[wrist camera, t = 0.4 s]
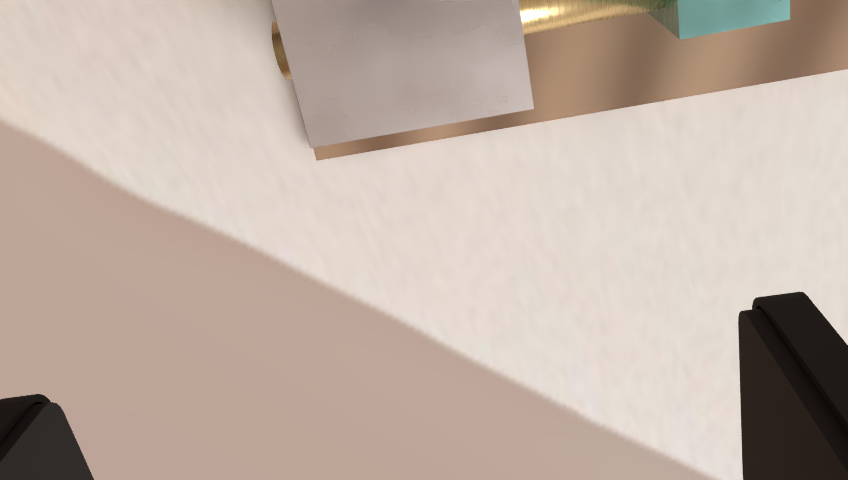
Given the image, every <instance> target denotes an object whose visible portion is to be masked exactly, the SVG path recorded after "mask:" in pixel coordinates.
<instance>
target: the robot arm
mask: <svg viewBox="0 0 848 480" xmlns="http://www.w3.org/2000/svg"><path fill="white" fill-rule="evenodd" d="M738 325H739V359H740V394H741V428H742V463H743V480H848V345H847V344H846V343H845V342H844V340H843V339H842V338H841V337H840V335H839V334H838V333H837V332H836V330H835V329H834V328H833V327H832V326H831V324H830V323H829V322H828V321H827V319H826V318H825V317H824V316H823V315H822V313H821V312H820V311H819V310H818V308H817V307H816V306H815V305H814V304H813V302H812V301H811V300H810V299H809V297H808V296H807V295H806V294H805V293H803V292H795V293H787V294H780V295H772V296H765V297H757V298H755V299H754V301H753V305H752V310H745V311H741V312H740V313H739V322H738ZM0 480H94V479H93V477H92V474H91V472H90V470H89V468H88V466H87V463H86V461H85V459H84V456H83V454H82V452H81V450H80V447H79V445H78V443H77V441H76V439H75V436H74V434H73V432H72V430H71V427H70V425H69V423H68V421H67V419H66V416H65V414H64V412H63V410H62V409H61V407H60V406H59V405H58V404H57V403H53V402H52V403H51V402H50V400H49V399H48V398H47V397H45V396H44V395H40V394H35V395H27V396H20V397H13V398H5V399H1V400H0Z"/></svg>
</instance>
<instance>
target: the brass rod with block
mask: <svg viewBox="0 0 848 480" xmlns="http://www.w3.org/2000/svg"><path fill="white" fill-rule="evenodd" d="M519 6H520V13H521V20H522V27H523V34H524V35H526V34H531V33H536V32H542V31H547V30H552V29H558V28H563V27H568V26H574V25H579V24H584V23H590V22H595V21H600V20H606V19H611V18H616V17H622V16H627V15H632V14H638V13H643V12H647V13H648V14H650V15H651V16H652V17H653V18H654V19H656V20H657V21H658V22H659V23H660V24H662V25H663V26H664V27H665V28H666V29H668V30H669V31H670V32H671V33H673V34H674V35H675V36H676V37H677V38H679V39H680V40H681V39H686V38H692V37H697V36H703V35H708V34H714V33H719V32H725V31H730V30H736V29H741V28H747V27H752V26H758V25H763V24H769V23H774V22H780V21H785V20H790V0H519ZM272 41H273V47H274V52H275V56H276V60H277V63H278V65H279V68H280V70H281V72H282V74H283V75H284V77H285V78H286V79H290V78H292V76H291V72H290V69H289V65H288V61H287V57H286V54H285V50H284V46H283V43H282V39H281V35H280V31H279V28H278V24H277V20H276V21H274V22H273V24H272Z"/></svg>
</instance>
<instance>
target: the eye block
mask: <svg viewBox="0 0 848 480" xmlns="http://www.w3.org/2000/svg"><path fill="white" fill-rule="evenodd" d="M271 1H272V5H273V9H274V13H275V16H276V20H277V24H278V28H279V31H280V35H281V39H282V43H283V46H284V50H285V54H286V57H287V61H288V65H289V69H290V72H291V76H292V80H293V84H294V87H295V91H296V95H297V99H298V102H299V106H300V110H301V114H302V117H303V121H304V125H305V128H306V132H307V136H308V140H309V143H310V147H311V148H314V147H319V146H325V145H331V144H336V143H342V142H348V141H354V140H359V139H365V138H371V137H377V136H382V135H388V134H394V133H399V132H405V131H411V130H417V129H422V128H428V127H434V126H439V125H445V124H451V123H457V122H462V121H468V120H474V119H480V118H485V117H491V116H497V115H502V114H508V113H514V112H520V111H525V110H531V109H534V104H533V97H532V90H531V83H530V76H529V69H528V62H527V55H526V48H525V41H524V34H523V27H522V20H521V13H520V6H519V0H271Z"/></svg>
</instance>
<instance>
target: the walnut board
mask: <svg viewBox="0 0 848 480" xmlns="http://www.w3.org/2000/svg"><path fill="white" fill-rule="evenodd" d="M524 41H525V48H526V55H527V62H528V69H529V76H530V83H531V90H532V97H533V104H534V109H531V110H525V111H520V112H514V113H508V114H502V115H497V116H491V117H485V118H480V119H474V120H468V121H462V122H457V123H451V124H445V125H439V126H434V127H428V128H422V129H417V130H411V131H405V132H399V133H394V134H388V135H382V136H377V137H371V138H365V139H359V140H354V141H348V142H342V143H336V144H331V145H325V146H319V147H314V152H315V156H316V160H323V159H329V158H334V157H340V156H346V155H352V154H358V153H363V152H369V151H375V150H381V149H387V148H392V147H398V146H404V145H410V144H416V143H421V142H427V141H433V140H439V139H445V138H450V137H456V136H462V135H468V134H474V133H479V132H485V131H491V130H497V129H503V128H508V127H514V126H520V125H526V124H532V123H537V122H543V121H549V120H555V119H561V118H566V117H572V116H578V115H584V114H590V113H595V112H601V111H607V110H613V109H619V108H624V107H630V106H636V105H642V104H648V103H653V102H659V101H665V100H671V99H677V98H682V97H688V96H694V95H700V94H706V93H711V92H717V91H723V90H729V89H735V88H740V87H746V86H752V85H758V84H764V83H769V82H775V81H781V80H787V79H792V78H798V77H804V76H810V75H816V74H821V73H827V72H833V71H839V70H845V69H848V0H790V20H785V21H780V22H774V23H769V24H763V25H758V26H752V27H747V28H741V29H736V30H730V31H725V32H719V33H714V34H708V35H703V36H697V37H692V38H686V39H681V40H680V39H679V38H677V37H676V36H675V35H674V34H673V33H671V32H670V31H669V30H668V29H666V28H665V27H664V26H663V25H662V24H660V23H659V22H658V21H657V20H656V19H654V18H653V17H652V16H651V15H650V14H648V13H647V12H643V13H638V14H632V15H627V16H622V17H616V18H611V19H606V20H600V21H595V22H590V23H584V24H579V25H574V26H568V27H563V28H558V29H552V30H547V31H542V32H536V33H531V34H526V35H524Z"/></svg>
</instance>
